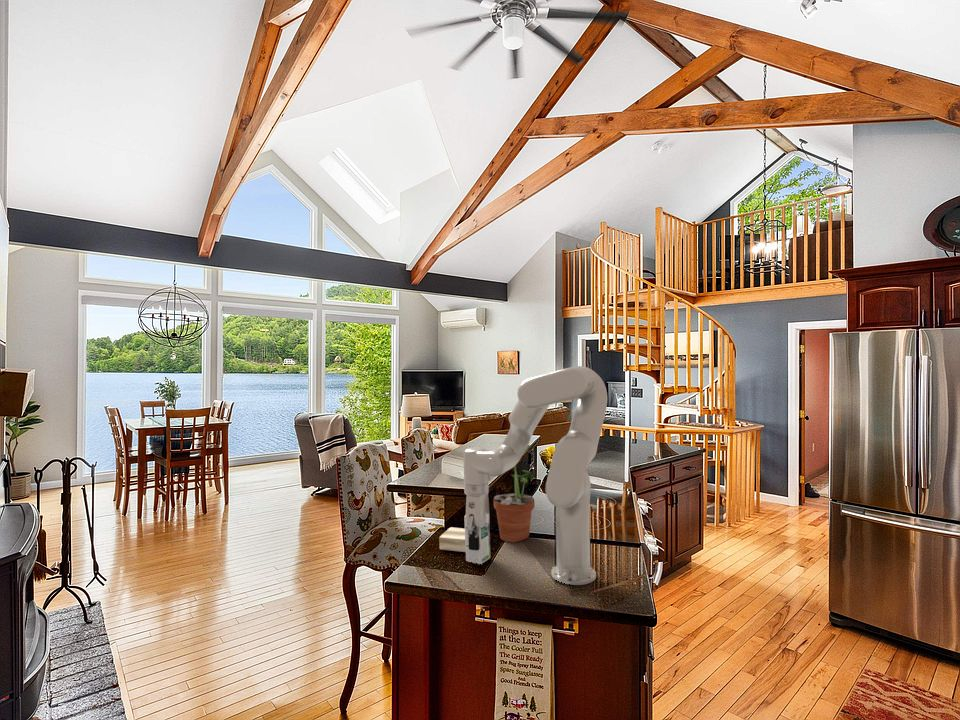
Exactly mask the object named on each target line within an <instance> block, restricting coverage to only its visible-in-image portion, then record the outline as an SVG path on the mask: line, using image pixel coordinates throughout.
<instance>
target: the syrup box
mask: <svg viewBox="0 0 960 720" xmlns="http://www.w3.org/2000/svg"><path fill="white" fill-rule="evenodd" d="M489 513H490V512H489ZM489 513H487V514H486V517H485V518H486V524H485V525H484V526H483V527H482V528H479V527H478V537H479V550H470V549H469V537H468V531H467V525H466V514H465V515H464V516H463V517H464V519H463V520H464V528H465V546H466V552H465V561H466V562H469V563H471V562H472V563H473V564H476V563H477V565H480V564H481V565H483V563H485V562H487V561H488V560H490V559H491V557H492V556H491V534H490V533H491V532H490V519H489ZM473 526H475V527H477V526H476V524H473ZM473 530H474V531H475V532H476V529H473Z"/></svg>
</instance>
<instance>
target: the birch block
mask: <svg viewBox="0 0 960 720" xmlns="http://www.w3.org/2000/svg"><path fill="white" fill-rule="evenodd" d="M438 539H439V540H438V542H439V550H443V551H453V552H463V553H466V546H465V527H464V528H462V527H453V526H451V527H449V528H447V530H445V531H444V532H443V533H442V534H441V535H440V536H439V538H438Z"/></svg>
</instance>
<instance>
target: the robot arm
mask: <svg viewBox="0 0 960 720" xmlns="http://www.w3.org/2000/svg"><path fill="white" fill-rule="evenodd" d="M517 399H518V401H517V402H516V404H515V405H514V407H513V408H512V410H511V412H510V414H509V415H508V421H509V424H510V426H509V430H508V432H507V434H506V436H505V438H504V439H503V441H502V443H501V445H500V446H499V447H497V448H494V449H492V450H490V451H488V450H487V449H486V448H484V447H481V446H480V447H476V446H475V447H473V446H472V447H468V448H465V450H464V451H463V481H464V483H463V486H464V487H463V488H464V489H463V491H464V495H466V500H465V501H466V503H465V515H466V525H467V531H468V537H469V549H470V550H479V537H478V527H479V528H482V527H483V526H484V525H485V524H486V518H485V517H486V514H487V513H489V520H490V519H491V518H490V516H491V515H490V513H491V512H490V501H489V491H490V489H489V488H490V487H489V485H490V484H489V476H491V477H499V476H501V475H503V474H504V473H506V472H508V471H509V470H511V469H514V468H515V465H516V466H517V465H518V463H519V462H518V461H519V459H520V458H521V459H522V457H523V456H524V455H523V453H524V451H525V450H526V448H527V446H528V445H530V442H531V439H532V437H533V434H534V431H535V430H536V428H537V426H538V425H539V423H540V421H541V420H542V418H543V417H544V415H545V413H546V412H547V410H548V408H549V406H550V405H551V406H552V405H554V404H558V403H559V404H560V403H562V402H567V401H572V400H575V399H576V406H575V408H574V411H573V414H572V419H571V422H570V426H569V430H568V432H567V434H566V435H564V436H563V437H561V438H560V439H559V440H558V442H557V443H556V444H555V445H556V446H555V448H554V451H553V453H552V458H551V462H550V467H549V470H548V475H547V479H546V482H545V494H546V497H547V499H548V501H549V503H551V504H552V505H553V506H554V507H555V542H556V543H555V547H556V548H555V550H556V551H555V553H556V558H555V559H556V565H555V566H554V567H552V569H551V578H552V579H554V580H555V581H556V580H557V582H558V581H559V582H558V583H561V582H562V583H561V584H564V583H565V584H564V585H569V584H570V585H571V586H583V585H588V584H591V583H592V582H594V581H595V580H596V579H597V572H596V571H595V570H596V569H594V568H592V567H591V539H590V537H591V535H590V529H591V528H590V517H591V515H590V513H591V512H590V508H591V507H590V505H591V504H590V503H591V502H590V501H591V490H592V484H591V483H592V482H591V479H590V475H589V473H588V472H587V468H588V465H589V464H590V462H592V460H593V459H594V458H595V457H596V455H597V451H598V446H599V441H600V438H601V433H602V429H603V423H604V421H605V418H606V417H605V415H606V412H607V406H608V392H607V387H606V385H605V383H604V381H603V379H602V377H600V375H599V374H597V373H596V371H594V370H593V369H591V368H590V367H587V366H581V365H578V366H577V365H576V366H572V367H567V368H561V369H559V370H555V371H552V372H548V373H544V374H540V375H537V376H532V377H528V378H526V379H524V380H522V382H521V383H520V384H519V386H518V388H517ZM522 455H523V456H522ZM521 456H522V457H521ZM521 459H520V460H521ZM517 462H518V463H517ZM473 524H476V526H477V527H475V526H473ZM473 529H476V532H475V531H474V530H473ZM570 585H569V586H570Z"/></svg>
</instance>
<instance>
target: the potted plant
mask: <svg viewBox="0 0 960 720" xmlns="http://www.w3.org/2000/svg"><path fill="white" fill-rule="evenodd" d="M529 448H530V444H528V446H527V448H526V450H525V451H524V453H523V455H522V456H521V458H520V459H519V461H518V462H517V464H518V463H520V462H521V461H522V458H523V456H524V455H525V454H526V453H527V451H528V449H529ZM517 464H516V465H515V466H514V467H513V471H514V474H511V478H513V479H514V493H504V494H496V495H495V496H494V497H493V508H494V509H495V511H496V518H497V523H498V524H497V525H498V531H499V537H500V538H499V539H501V540H502V541H504V542H508V543H509V542H510V543H516V542H521V541H525V540H526V539H528V538H529V537H530V529H531V519H532V511H533V510H534V509H535V498H534V497H533V496H531V495H529V494H525V493H524V489H525V484H527V483H528V482H529V480H533V479H534V478H535V475H534V474H533V472H532V471H530V470H525V469H521V471H522V472H523V473H524V474H519V475H518V471H517ZM519 478H520V483H523V484H522V489H521V493H520V486H519ZM528 479H529V480H528Z"/></svg>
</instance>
